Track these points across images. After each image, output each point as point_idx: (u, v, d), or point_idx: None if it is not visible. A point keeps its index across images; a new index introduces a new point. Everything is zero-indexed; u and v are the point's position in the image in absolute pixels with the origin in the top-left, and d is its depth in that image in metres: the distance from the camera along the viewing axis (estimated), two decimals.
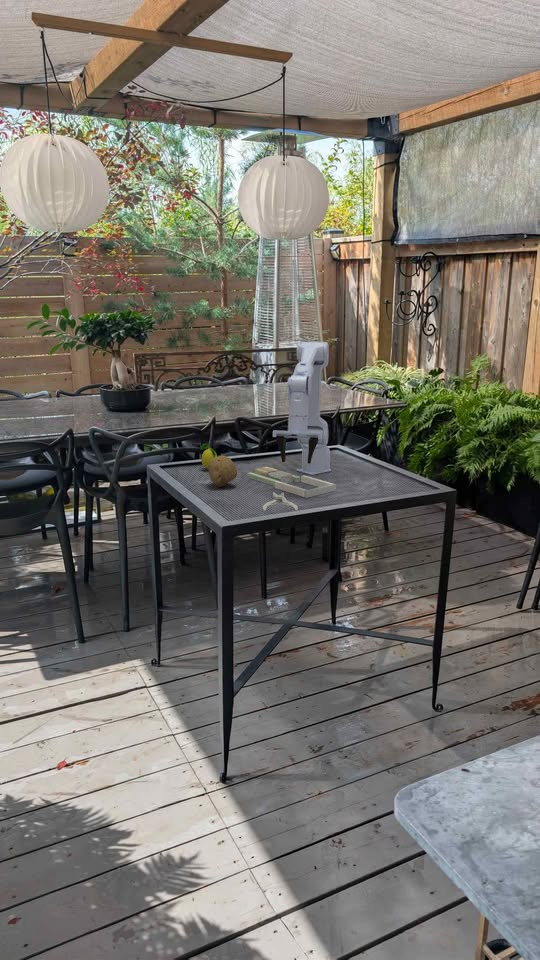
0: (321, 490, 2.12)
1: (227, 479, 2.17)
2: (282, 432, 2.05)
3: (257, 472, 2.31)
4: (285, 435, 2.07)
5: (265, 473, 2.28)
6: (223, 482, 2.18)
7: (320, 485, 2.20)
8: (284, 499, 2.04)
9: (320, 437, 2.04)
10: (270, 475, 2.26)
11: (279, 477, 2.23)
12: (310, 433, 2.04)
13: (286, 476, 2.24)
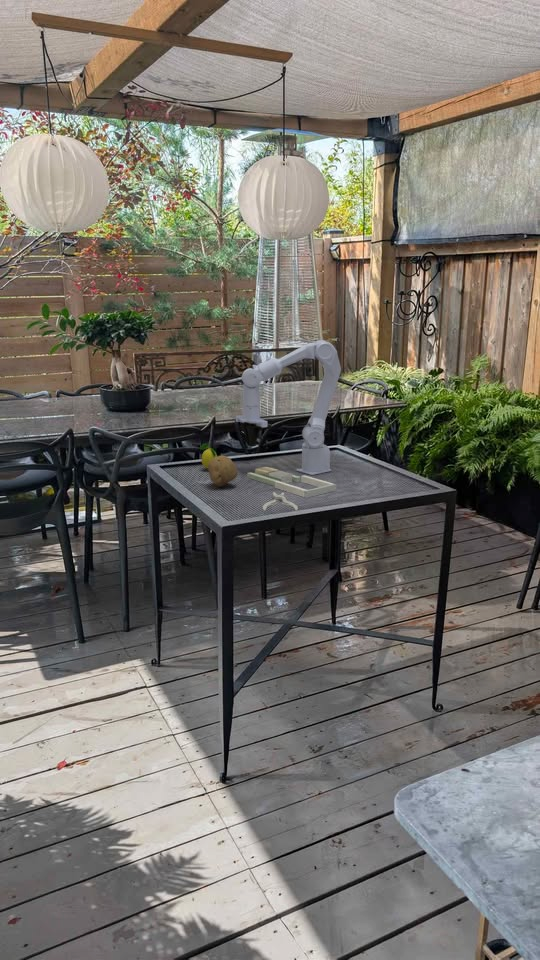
0: (321, 490, 2.12)
1: (227, 479, 2.17)
2: (239, 419, 2.35)
3: (257, 472, 2.31)
4: None
5: (265, 473, 2.28)
6: (223, 482, 2.18)
7: (320, 485, 2.20)
8: (284, 499, 2.04)
9: (262, 426, 2.28)
10: (270, 475, 2.26)
11: (279, 477, 2.23)
12: (254, 421, 2.29)
13: (286, 476, 2.24)
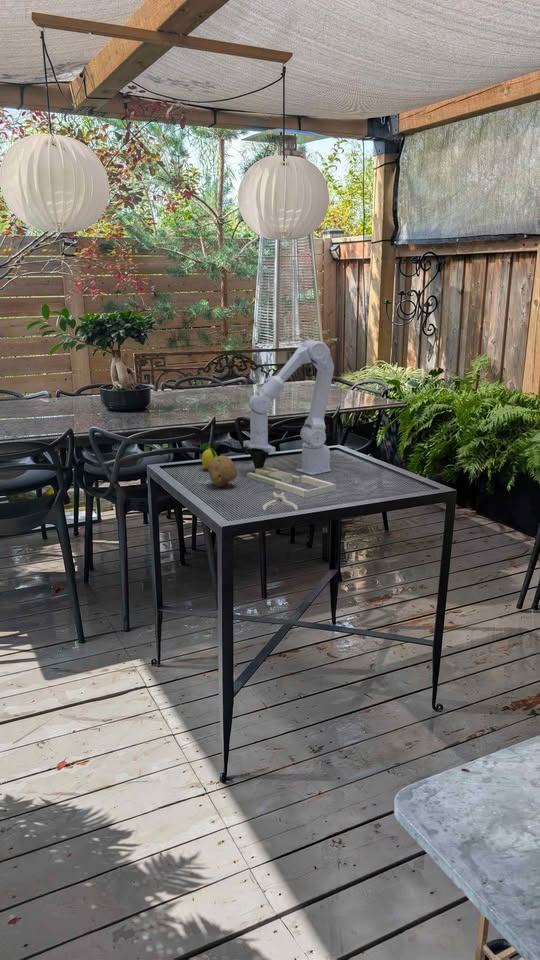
0: (321, 490, 2.12)
1: (227, 479, 2.17)
2: (247, 444, 2.34)
3: (257, 472, 2.31)
4: None
5: (266, 473, 2.28)
6: (223, 482, 2.18)
7: (320, 485, 2.20)
8: (284, 499, 2.05)
9: (270, 452, 2.27)
10: (270, 475, 2.26)
11: (279, 477, 2.23)
12: (262, 447, 2.28)
13: (286, 476, 2.24)
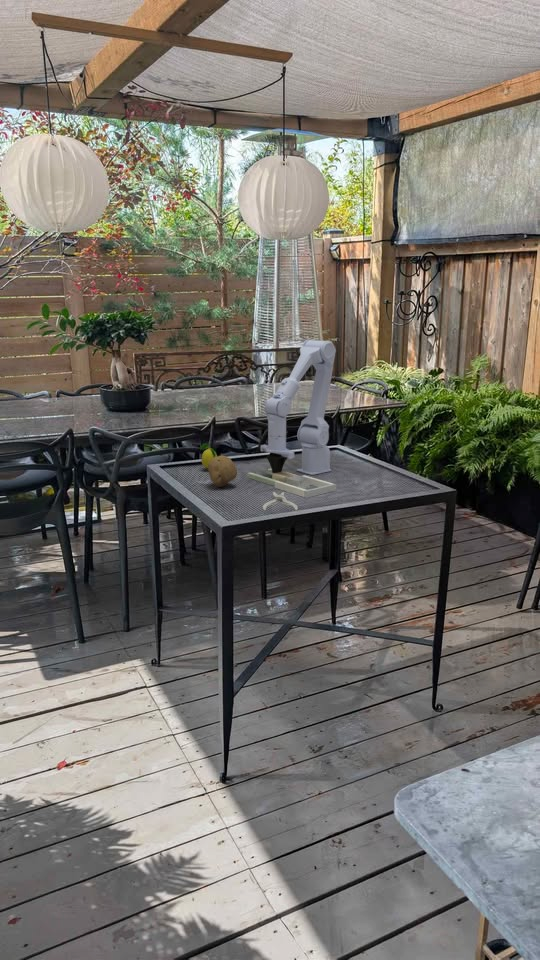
0: (321, 490, 2.12)
1: (227, 479, 2.17)
2: (264, 448, 2.27)
3: (274, 477, 2.24)
4: None
5: (283, 478, 2.21)
6: (223, 482, 2.18)
7: (320, 485, 2.20)
8: (284, 499, 2.05)
9: (288, 457, 2.20)
10: (287, 479, 2.20)
11: (296, 482, 2.16)
12: (281, 452, 2.21)
13: (303, 481, 2.18)
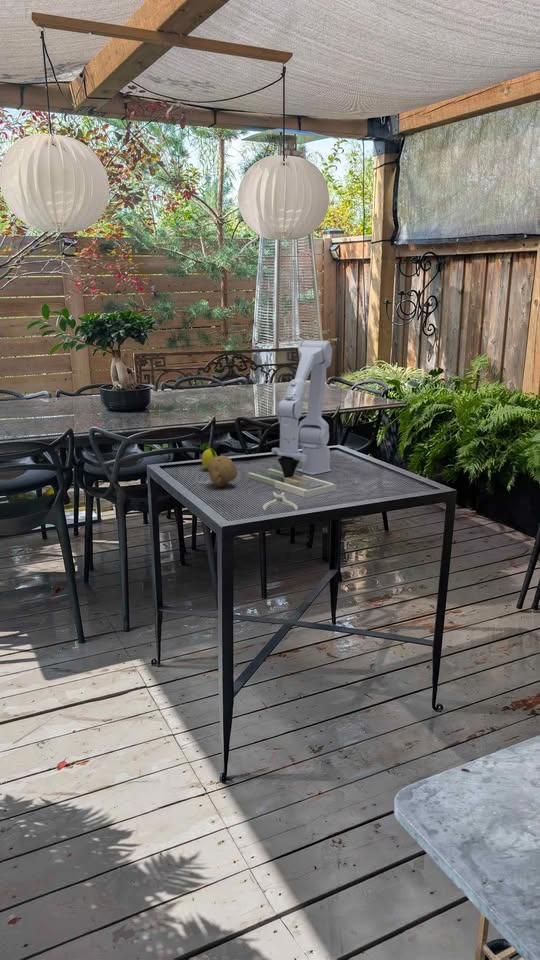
0: (321, 490, 2.12)
1: (227, 479, 2.17)
2: (276, 451, 2.23)
3: (286, 481, 2.20)
4: None
5: (295, 483, 2.17)
6: (223, 482, 2.18)
7: None
8: (284, 499, 2.05)
9: (301, 460, 2.16)
10: (299, 484, 2.16)
11: (309, 486, 2.12)
12: (293, 455, 2.17)
13: (316, 485, 2.13)
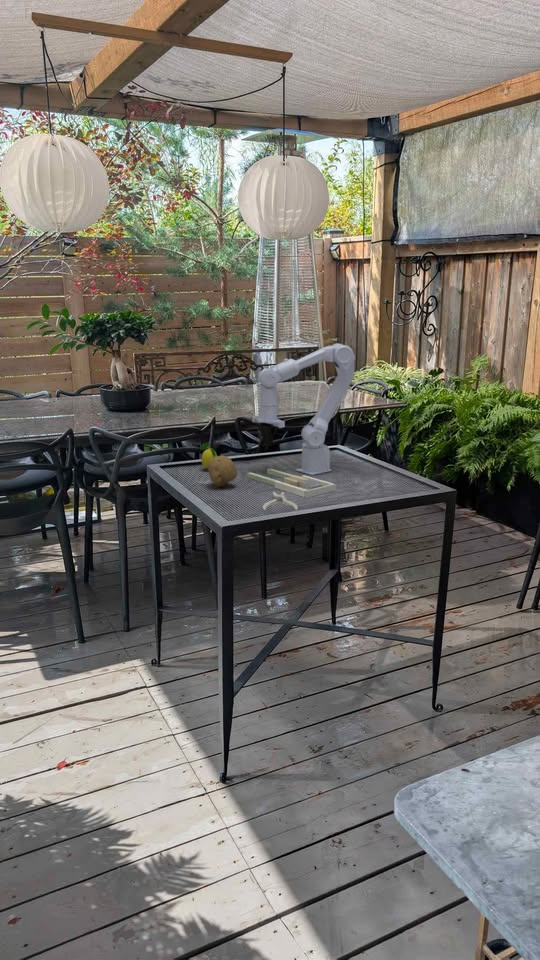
0: (321, 490, 2.12)
1: (227, 479, 2.17)
2: (256, 419, 2.35)
3: (286, 481, 2.20)
4: None
5: (295, 483, 2.17)
6: (223, 482, 2.18)
7: None
8: (284, 499, 2.05)
9: (279, 426, 2.27)
10: (300, 484, 2.16)
11: (309, 486, 2.12)
12: (272, 422, 2.28)
13: (316, 485, 2.13)
